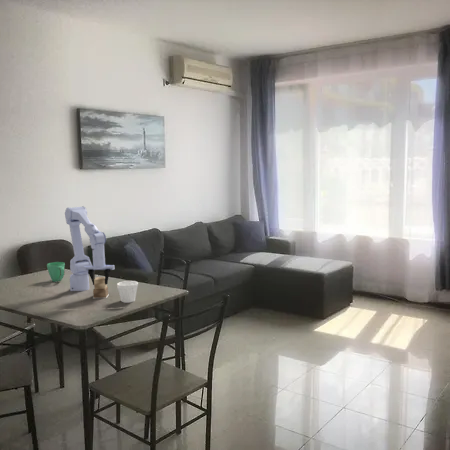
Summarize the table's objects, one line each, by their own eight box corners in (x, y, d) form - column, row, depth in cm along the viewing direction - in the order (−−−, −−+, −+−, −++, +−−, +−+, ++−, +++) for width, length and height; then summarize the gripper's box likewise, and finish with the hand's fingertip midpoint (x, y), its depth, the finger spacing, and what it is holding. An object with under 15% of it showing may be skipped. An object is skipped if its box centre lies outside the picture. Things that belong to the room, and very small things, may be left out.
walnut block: (93, 298, 251) (93, 290, 251) (96, 294, 257) (95, 287, 257) (105, 297, 251) (105, 289, 251) (108, 294, 257) (107, 286, 257)
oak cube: (94, 289, 252) (94, 279, 251) (96, 287, 257) (96, 277, 256) (104, 289, 252) (104, 279, 251) (106, 286, 257) (106, 276, 256)
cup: (118, 305, 239) (117, 286, 238) (117, 300, 248) (116, 281, 247) (140, 303, 241) (139, 284, 240) (137, 298, 251) (136, 280, 250)
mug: (45, 280, 294) (44, 263, 293) (61, 277, 301) (60, 261, 299) (55, 285, 283) (54, 267, 282) (72, 282, 289) (71, 264, 288)
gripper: (81, 259, 247) (83, 286, 249) (112, 258, 248) (113, 285, 250) (85, 256, 254) (87, 283, 256) (114, 255, 255) (116, 282, 257)
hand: (100, 284), depth 253 cm, fingers open, 5 cm apart
